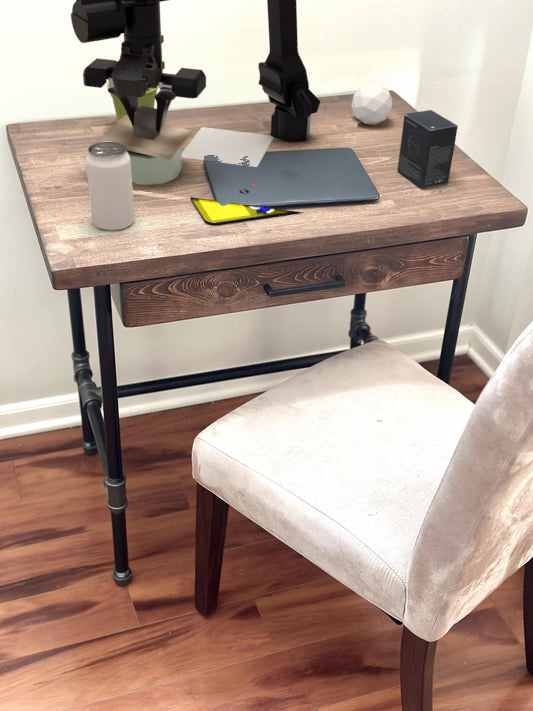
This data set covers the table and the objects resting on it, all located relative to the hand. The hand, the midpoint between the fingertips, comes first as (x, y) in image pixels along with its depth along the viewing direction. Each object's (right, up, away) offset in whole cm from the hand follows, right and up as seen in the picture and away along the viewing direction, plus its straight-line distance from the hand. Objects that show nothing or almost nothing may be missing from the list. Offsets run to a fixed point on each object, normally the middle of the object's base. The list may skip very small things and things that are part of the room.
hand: (147, 129), depth 142 cm
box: (+46, -6, +8) cm, 48 cm away
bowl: (0, -7, +5) cm, 8 cm away
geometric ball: (+40, +8, +27) cm, 49 cm away
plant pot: (-5, +5, +21) cm, 22 cm away
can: (-4, -17, -8) cm, 19 cm away
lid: (0, -1, +1) cm, 2 cm away
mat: (+13, 0, +14) cm, 19 cm away
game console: (+17, -13, -2) cm, 21 cm away
